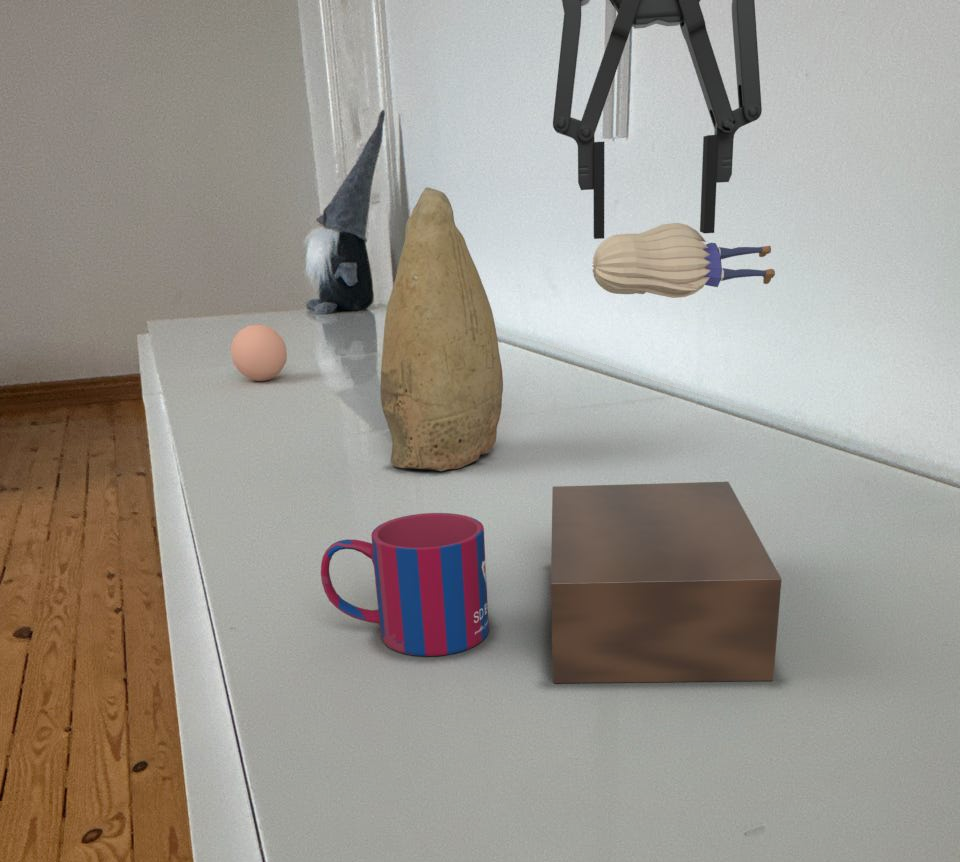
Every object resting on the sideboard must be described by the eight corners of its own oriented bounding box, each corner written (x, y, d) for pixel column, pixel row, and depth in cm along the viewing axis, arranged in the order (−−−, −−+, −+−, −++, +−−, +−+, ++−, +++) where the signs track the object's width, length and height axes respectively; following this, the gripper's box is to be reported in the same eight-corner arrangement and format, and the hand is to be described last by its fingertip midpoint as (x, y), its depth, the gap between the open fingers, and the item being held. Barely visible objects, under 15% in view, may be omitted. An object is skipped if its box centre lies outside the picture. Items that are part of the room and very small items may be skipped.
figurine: (752, 238, 80) (578, 242, 77) (781, 210, 76) (598, 213, 72) (764, 308, 80) (589, 315, 76) (793, 284, 76) (609, 291, 72)
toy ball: (279, 373, 152) (271, 319, 148) (298, 380, 145) (291, 324, 142) (228, 380, 148) (219, 325, 145) (246, 388, 142) (237, 330, 138)
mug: (481, 658, 59) (475, 549, 56) (317, 655, 60) (303, 549, 57) (495, 612, 65) (490, 512, 62) (346, 611, 66) (334, 512, 63)
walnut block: (723, 563, 71) (728, 481, 68) (773, 681, 54) (781, 578, 52) (554, 567, 72) (552, 486, 69) (553, 683, 55) (550, 583, 53)
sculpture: (475, 439, 108) (462, 184, 97) (525, 461, 98) (516, 182, 88) (370, 456, 103) (344, 191, 93) (411, 481, 94) (388, 190, 83)
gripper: (806, -137, 68) (780, 225, 78) (510, -112, 70) (521, 238, 80) (831, -171, 61) (800, 230, 71) (503, -141, 63) (516, 245, 73)
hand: (652, 234), depth 75 cm, fingers closed on figurine, 7 cm apart
